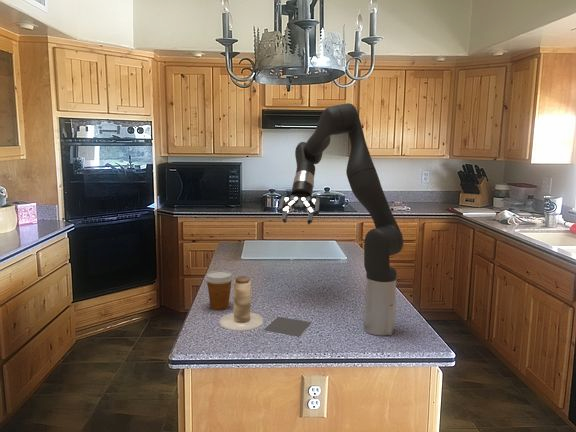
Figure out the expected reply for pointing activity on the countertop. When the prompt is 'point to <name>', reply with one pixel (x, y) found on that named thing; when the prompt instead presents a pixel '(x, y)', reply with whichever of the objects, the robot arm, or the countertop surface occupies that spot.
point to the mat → (288, 326)
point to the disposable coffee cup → (219, 289)
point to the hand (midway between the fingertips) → (296, 222)
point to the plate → (230, 324)
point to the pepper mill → (242, 299)
